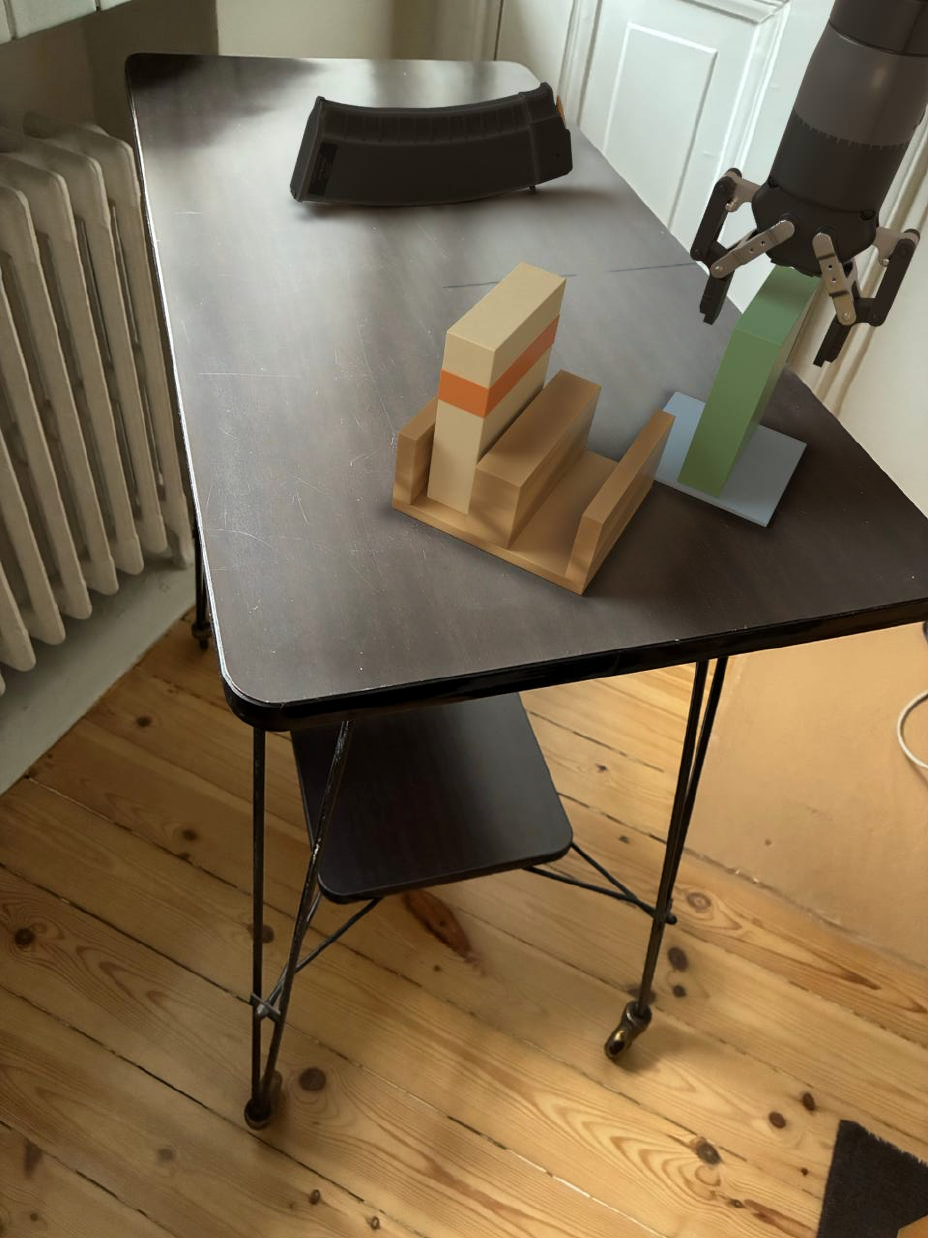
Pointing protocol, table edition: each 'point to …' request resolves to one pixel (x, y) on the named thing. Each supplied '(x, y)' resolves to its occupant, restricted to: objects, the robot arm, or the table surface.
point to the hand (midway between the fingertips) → (764, 340)
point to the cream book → (491, 375)
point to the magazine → (431, 151)
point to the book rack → (539, 484)
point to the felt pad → (752, 478)
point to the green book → (747, 378)
